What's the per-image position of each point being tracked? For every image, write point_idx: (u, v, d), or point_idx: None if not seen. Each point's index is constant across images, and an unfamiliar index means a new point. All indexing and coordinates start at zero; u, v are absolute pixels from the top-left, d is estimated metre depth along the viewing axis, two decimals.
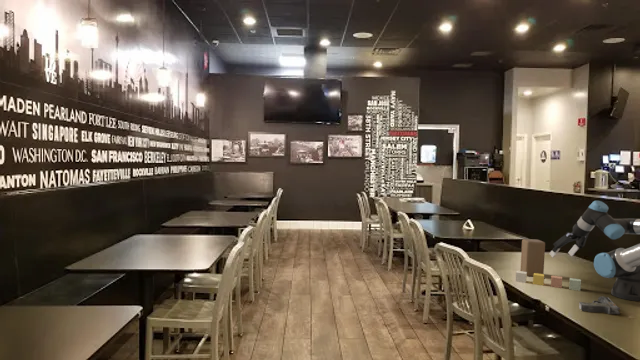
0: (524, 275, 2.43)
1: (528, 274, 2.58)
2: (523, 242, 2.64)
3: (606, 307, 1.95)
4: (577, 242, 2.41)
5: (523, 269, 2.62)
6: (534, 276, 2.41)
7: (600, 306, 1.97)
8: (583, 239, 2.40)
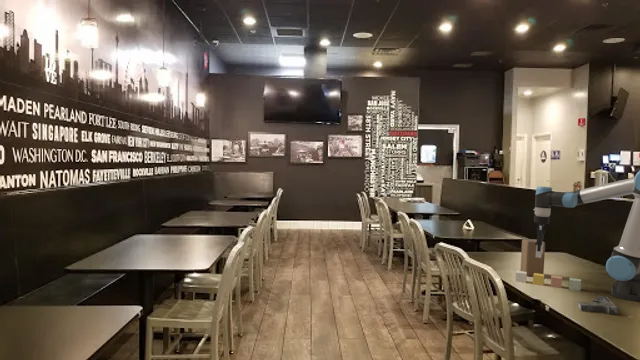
0: (524, 275, 2.43)
1: (528, 274, 2.58)
2: (523, 242, 2.64)
3: (605, 307, 1.96)
4: None
5: (523, 269, 2.62)
6: (534, 276, 2.41)
7: (599, 306, 1.97)
8: None
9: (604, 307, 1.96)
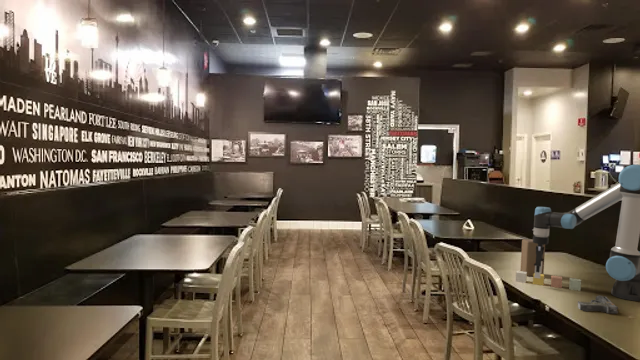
0: (524, 275, 2.43)
1: (528, 274, 2.58)
2: (523, 242, 2.64)
3: (605, 306, 1.96)
4: None
5: (523, 269, 2.62)
6: None
7: (599, 305, 1.97)
8: None
9: (603, 307, 1.97)
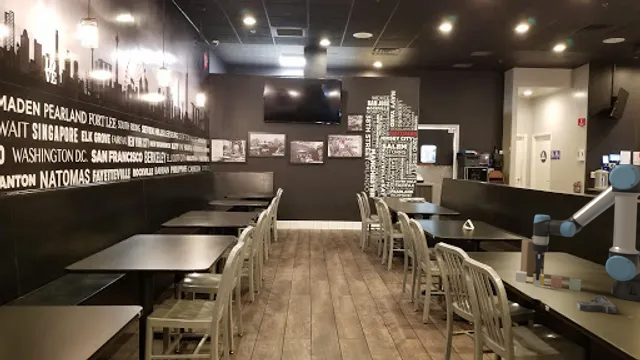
0: (524, 275, 2.43)
1: (528, 274, 2.58)
2: (523, 242, 2.64)
3: (604, 306, 1.97)
4: None
5: (523, 269, 2.62)
6: (534, 276, 2.41)
7: (598, 305, 1.98)
8: None
9: (603, 306, 1.97)
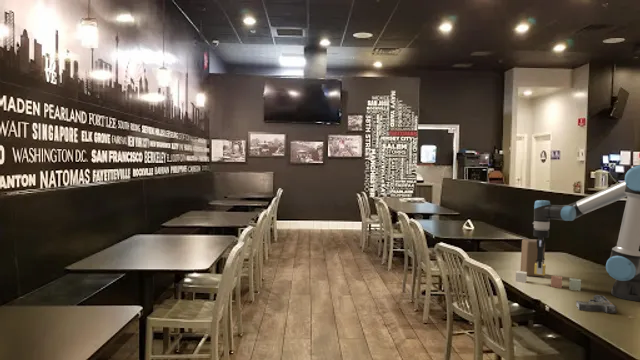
0: (524, 275, 2.43)
1: (528, 274, 2.58)
2: (523, 242, 2.64)
3: (603, 306, 1.97)
4: None
5: (523, 269, 2.62)
6: (535, 266, 2.41)
7: (597, 305, 1.98)
8: None
9: (602, 306, 1.97)
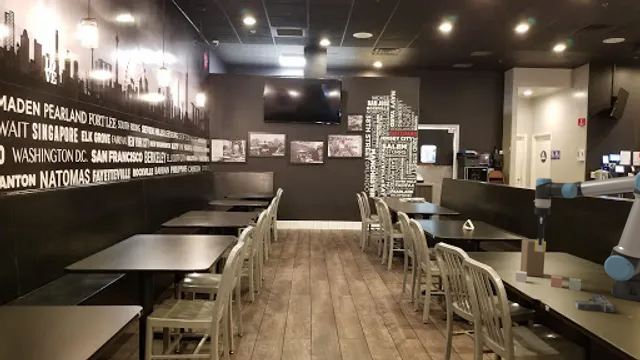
0: (524, 275, 2.43)
1: (528, 274, 2.58)
2: (523, 242, 2.64)
3: (602, 305, 1.98)
4: None
5: (523, 269, 2.62)
6: (536, 243, 2.42)
7: (596, 304, 1.99)
8: None
9: (601, 305, 1.98)
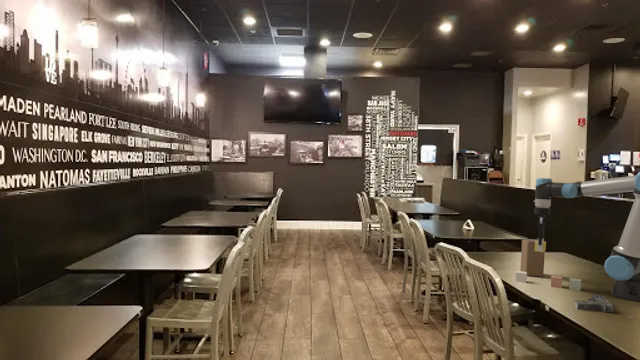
0: (524, 275, 2.43)
1: (528, 274, 2.58)
2: (523, 242, 2.64)
3: (601, 305, 1.98)
4: None
5: (523, 269, 2.62)
6: (536, 243, 2.42)
7: (596, 304, 1.99)
8: None
9: (600, 305, 1.98)
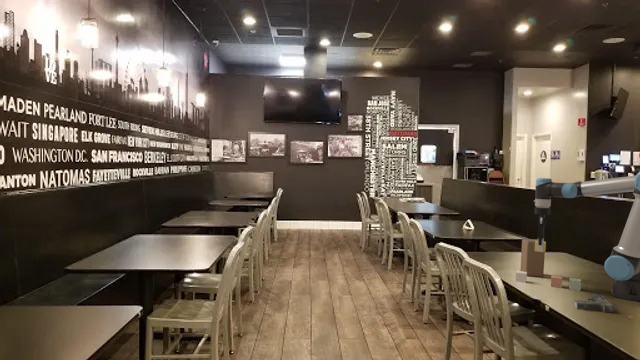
0: (524, 275, 2.43)
1: (528, 274, 2.58)
2: (523, 242, 2.64)
3: (601, 305, 1.98)
4: None
5: (523, 269, 2.62)
6: (536, 243, 2.42)
7: (595, 304, 1.99)
8: None
9: (600, 305, 1.99)
